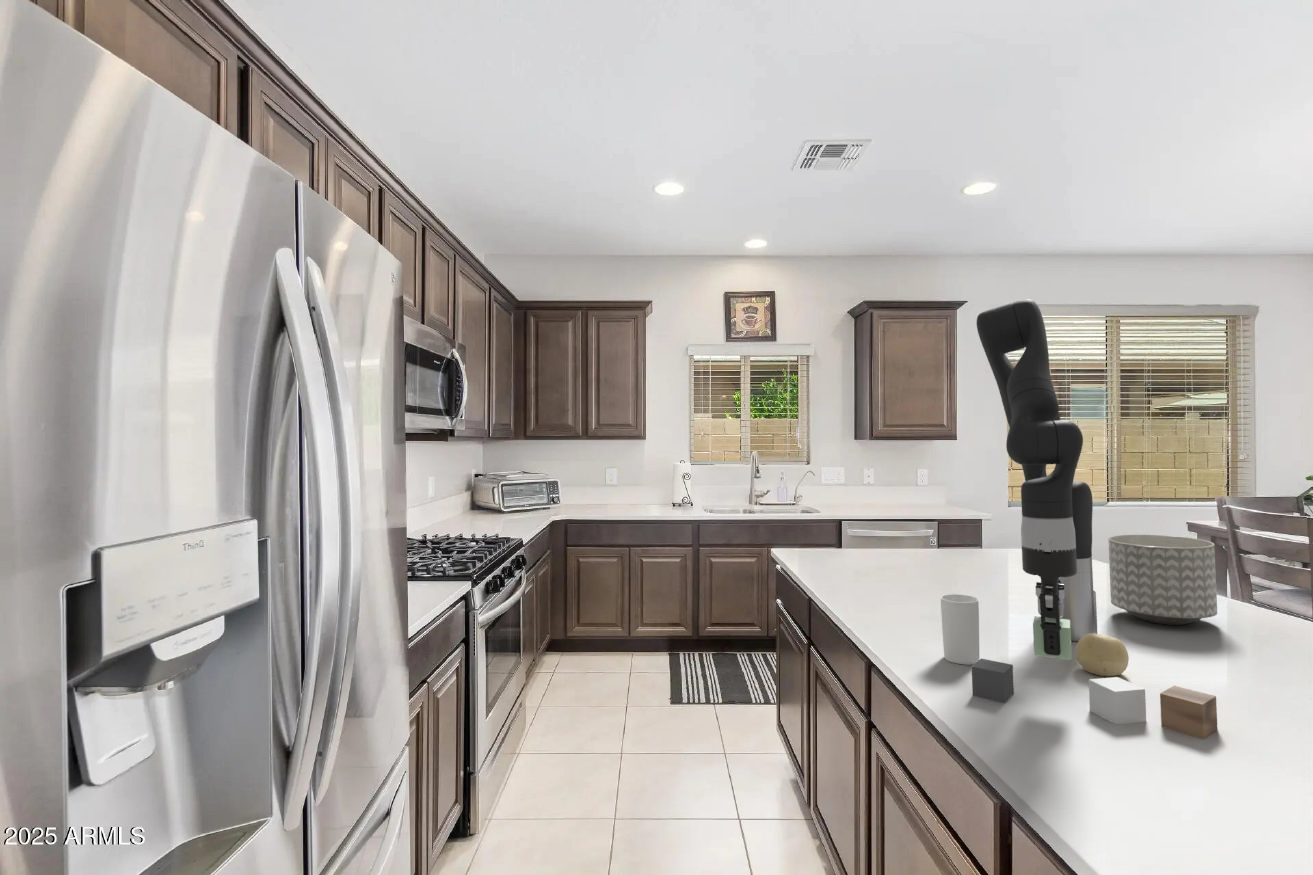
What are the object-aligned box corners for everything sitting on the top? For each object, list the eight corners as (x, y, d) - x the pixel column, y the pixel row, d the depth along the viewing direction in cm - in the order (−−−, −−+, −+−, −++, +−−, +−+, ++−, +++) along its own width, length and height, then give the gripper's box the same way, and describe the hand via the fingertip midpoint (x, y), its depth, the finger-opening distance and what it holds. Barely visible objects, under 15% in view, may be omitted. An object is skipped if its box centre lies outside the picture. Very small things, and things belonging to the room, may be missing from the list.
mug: (974, 668, 119) (972, 604, 120) (937, 660, 124) (935, 599, 124) (990, 653, 127) (987, 593, 127) (954, 647, 131) (952, 589, 132)
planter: (1208, 614, 148) (1205, 536, 148) (1226, 637, 132) (1223, 549, 132) (1108, 605, 158) (1105, 532, 158) (1114, 625, 142) (1111, 544, 142)
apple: (1069, 671, 115) (1064, 629, 119) (1095, 682, 118) (1089, 640, 122) (1115, 670, 109) (1108, 625, 112) (1142, 681, 112) (1134, 637, 115)
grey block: (1118, 708, 101) (1117, 676, 101) (1146, 722, 96) (1145, 688, 96) (1089, 710, 100) (1088, 679, 100) (1116, 724, 95) (1114, 691, 95)
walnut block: (1175, 718, 96) (1174, 685, 97) (1217, 730, 92) (1216, 696, 92) (1161, 727, 94) (1160, 693, 94) (1203, 739, 90) (1202, 704, 90)
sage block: (1035, 645, 106) (1034, 616, 106) (1071, 650, 103) (1070, 619, 103) (1034, 655, 102) (1032, 624, 102) (1071, 659, 99) (1069, 628, 99)
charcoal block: (982, 686, 111) (981, 658, 111) (1013, 694, 107) (1012, 664, 107) (972, 695, 107) (971, 666, 107) (1005, 703, 104) (1004, 673, 104)
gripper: (1024, 536, 111) (1028, 633, 111) (1018, 550, 99) (1023, 659, 99) (1075, 538, 106) (1080, 639, 107) (1076, 553, 95) (1081, 667, 95)
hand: (1052, 648), depth 103 cm, fingers closed on sage block, 5 cm apart
